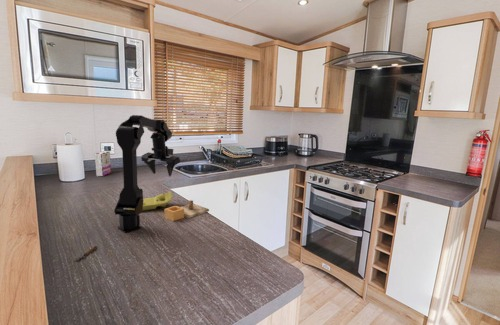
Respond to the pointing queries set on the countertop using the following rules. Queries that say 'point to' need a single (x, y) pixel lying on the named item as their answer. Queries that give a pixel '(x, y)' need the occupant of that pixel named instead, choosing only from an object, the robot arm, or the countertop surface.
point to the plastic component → (156, 201)
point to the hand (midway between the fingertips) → (162, 174)
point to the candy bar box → (102, 163)
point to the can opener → (87, 253)
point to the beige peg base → (193, 209)
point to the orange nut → (174, 213)
